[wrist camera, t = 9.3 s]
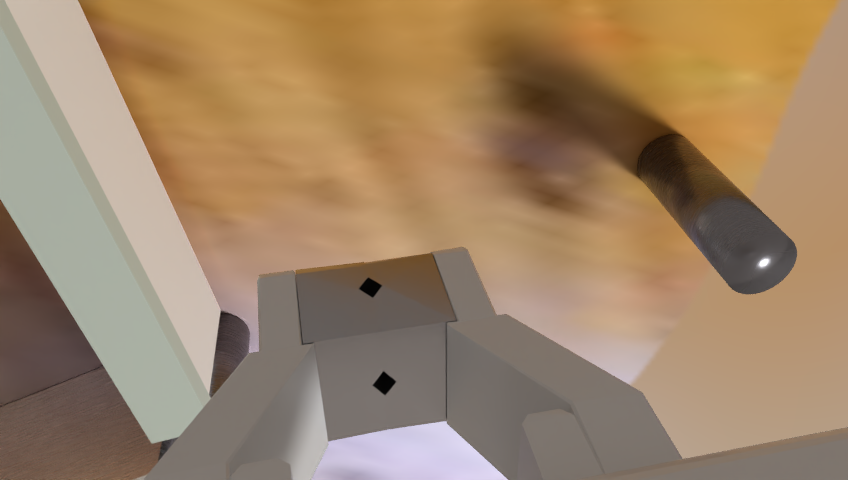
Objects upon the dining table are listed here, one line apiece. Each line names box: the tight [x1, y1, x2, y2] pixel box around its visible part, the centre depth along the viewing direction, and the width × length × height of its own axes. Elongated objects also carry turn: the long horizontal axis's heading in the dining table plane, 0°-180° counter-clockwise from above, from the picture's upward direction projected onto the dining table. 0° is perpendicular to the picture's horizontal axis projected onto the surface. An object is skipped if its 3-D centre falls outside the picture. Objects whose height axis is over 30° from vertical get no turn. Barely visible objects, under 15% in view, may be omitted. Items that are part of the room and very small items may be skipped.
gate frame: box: [0, 135, 797, 480], centre depth 23 cm, size 29×2×6 cm, turn 110°
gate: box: [0, 0, 221, 444], centre depth 19 cm, size 13×2×5 cm, turn 10°
